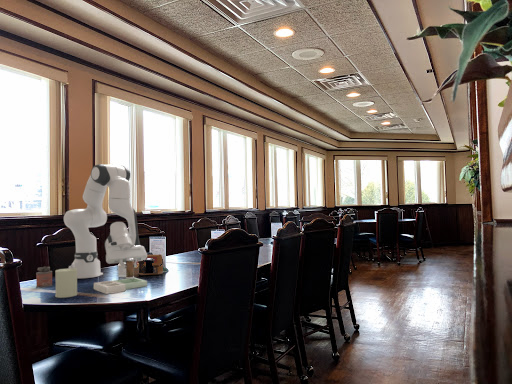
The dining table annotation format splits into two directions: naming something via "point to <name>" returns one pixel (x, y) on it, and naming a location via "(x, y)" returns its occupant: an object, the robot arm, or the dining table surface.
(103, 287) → the white shallow tray
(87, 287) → the dining table surface
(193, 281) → the dining table surface
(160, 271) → the condiment caddy
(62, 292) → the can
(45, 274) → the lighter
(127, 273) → the fuse
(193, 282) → the dining table surface
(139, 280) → the parts tray
